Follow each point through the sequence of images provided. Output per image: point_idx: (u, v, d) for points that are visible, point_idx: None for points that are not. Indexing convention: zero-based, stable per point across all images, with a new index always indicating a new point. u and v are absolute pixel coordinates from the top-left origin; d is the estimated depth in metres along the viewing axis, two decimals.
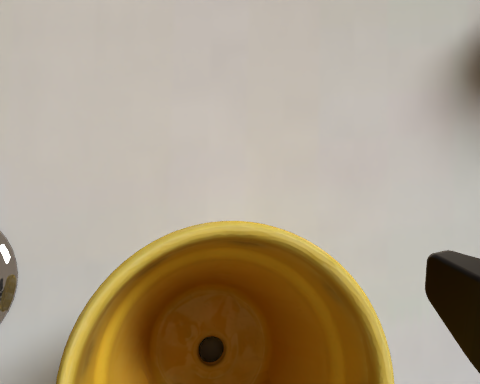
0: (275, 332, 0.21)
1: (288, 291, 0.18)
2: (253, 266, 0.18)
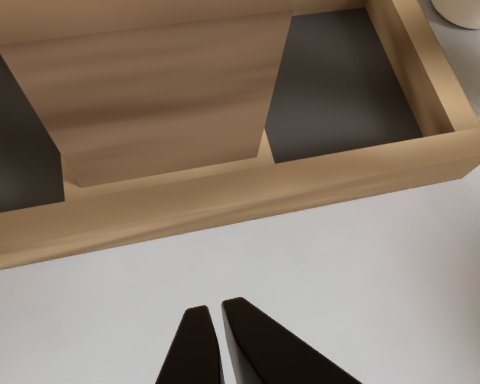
0: None
1: None
2: None
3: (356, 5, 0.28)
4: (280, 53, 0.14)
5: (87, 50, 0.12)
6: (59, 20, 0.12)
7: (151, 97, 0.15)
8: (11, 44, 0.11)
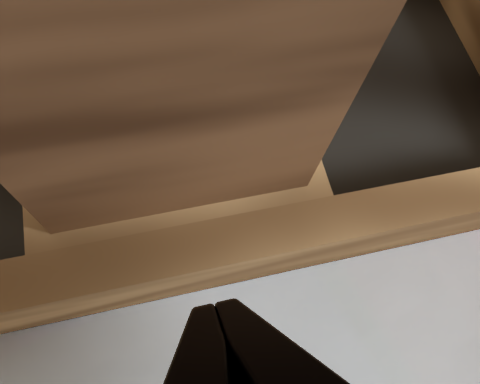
0: None
1: None
2: None
3: None
4: (393, 19, 0.08)
5: (23, 0, 0.06)
6: None
7: (157, 100, 0.08)
8: None
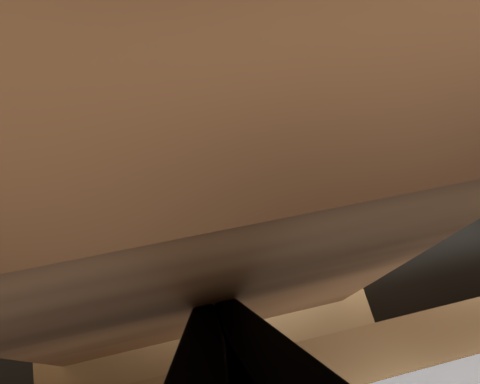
0: None
1: None
2: None
3: None
4: (478, 217, 0.07)
5: (47, 282, 0.05)
6: None
7: (195, 297, 0.07)
8: None
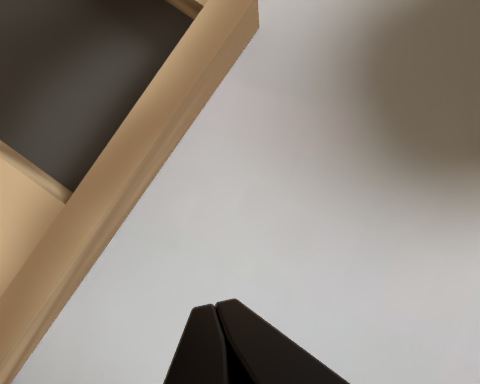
0: None
1: None
2: None
3: None
4: None
5: None
6: None
7: None
8: None
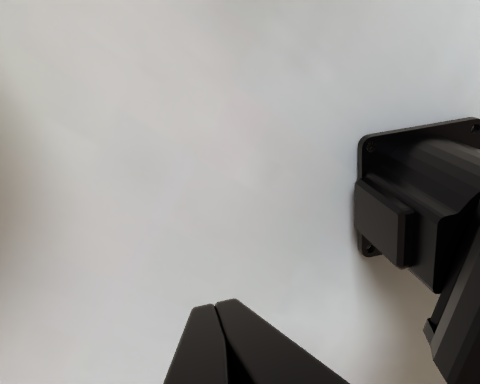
0: None
1: None
2: None
3: None
4: None
5: None
6: None
7: None
8: None
